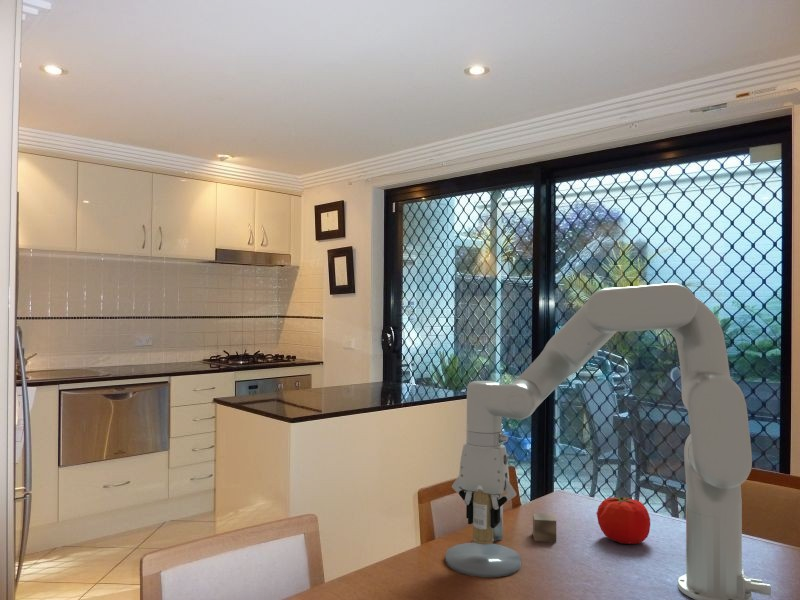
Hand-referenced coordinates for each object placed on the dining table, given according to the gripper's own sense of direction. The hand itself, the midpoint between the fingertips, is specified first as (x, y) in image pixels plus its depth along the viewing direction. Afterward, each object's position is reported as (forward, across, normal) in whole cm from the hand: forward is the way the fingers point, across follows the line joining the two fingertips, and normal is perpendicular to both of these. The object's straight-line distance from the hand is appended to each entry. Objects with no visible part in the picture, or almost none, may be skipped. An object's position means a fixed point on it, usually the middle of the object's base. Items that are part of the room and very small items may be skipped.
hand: (483, 523), depth 131 cm
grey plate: (+8, 0, 0) cm, 8 cm away
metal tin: (+8, +3, -15) cm, 17 cm away
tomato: (+8, -25, -28) cm, 38 cm away
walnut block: (+8, -8, -21) cm, 24 cm away
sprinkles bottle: (+4, 0, 0) cm, 4 cm away
